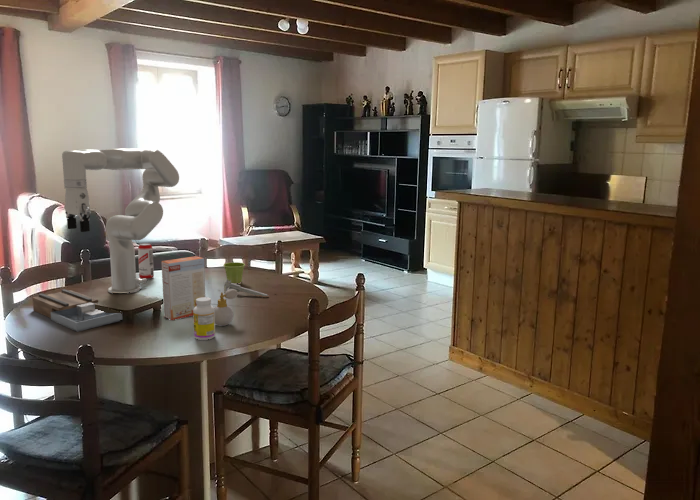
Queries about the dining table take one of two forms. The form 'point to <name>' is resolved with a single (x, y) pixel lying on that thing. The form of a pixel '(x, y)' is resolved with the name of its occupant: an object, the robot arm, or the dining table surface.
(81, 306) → the chip
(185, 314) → the cracker box
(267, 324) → the dining table surface
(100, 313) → the chip
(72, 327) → the tray
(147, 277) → the beer can
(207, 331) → the supplement bottle
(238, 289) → the caliper
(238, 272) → the plant pot
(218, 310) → the perfume bottle
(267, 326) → the dining table surface
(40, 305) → the slot board
